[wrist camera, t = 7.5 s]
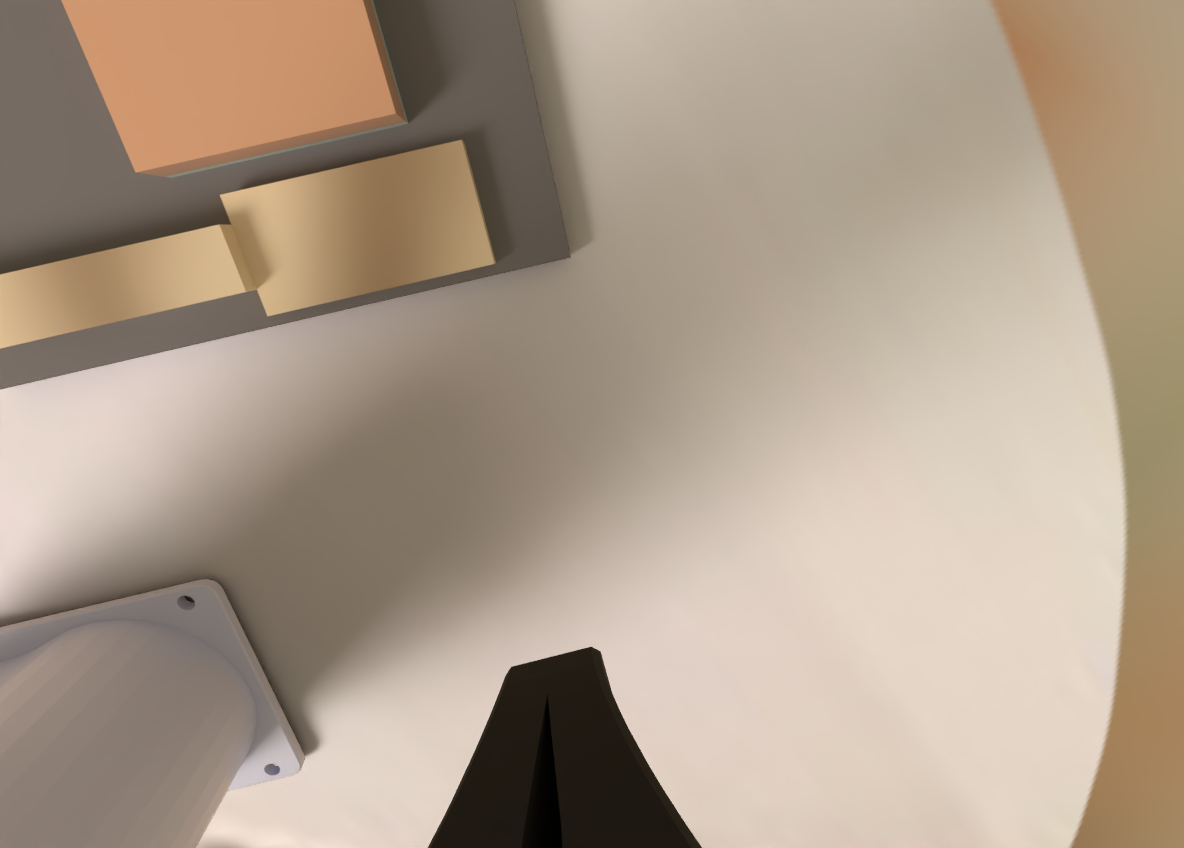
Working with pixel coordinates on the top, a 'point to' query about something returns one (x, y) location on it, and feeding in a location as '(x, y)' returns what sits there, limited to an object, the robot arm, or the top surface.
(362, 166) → the light wooden plank
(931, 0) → the top surface
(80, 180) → the mat
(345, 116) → the tile
